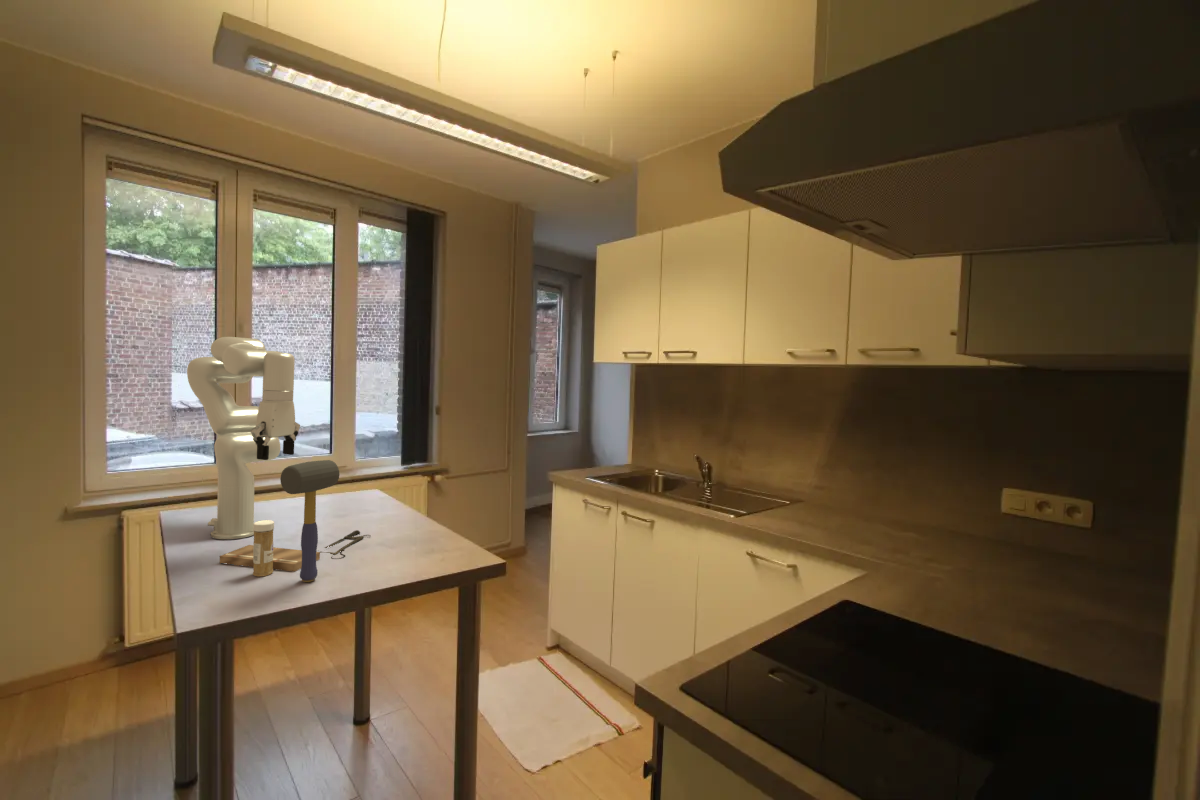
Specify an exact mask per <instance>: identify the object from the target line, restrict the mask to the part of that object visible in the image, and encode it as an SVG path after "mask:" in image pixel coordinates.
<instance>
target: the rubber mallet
mask: <svg viewBox="0 0 1200 800" xmlns="http://www.w3.org/2000/svg"><path fill="white" fill-rule="evenodd" d="M339 479H340V469H339V466H338V465H337V463H336V462H334V461H333V460H330V459H326V460H325V459H324V460H312V461H306V462H305V461H304V462H300V463H296V464H291V465H288V466H286V467H285V468H284V469H283V470H282V472H281V473H280V485H281V488H282V489H283V490H284V492H286V494H290V495H296V494H297V495H298V494H304V512H303V524H302V528H301V535H300V547H301V549H300V550H302V567H301V569H300V570H299V571H300V573H299V578H300V580H301V581H302V582H304V583H310V582H314V581H315V579H316V578H317V576H318V567H317V561H316V552H317V551H318V550H317V549H318V545H319V544H318V543H319V542H318V541H319V533H318V524H317V520H316V518H317V516H316V512H317V510H316V509H317V507H316V505H317V504H316V503H317V491H321V490H324V489H327V488H330V487H333V486H335V485H336V484H337V483H338V481H339Z"/></svg>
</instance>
